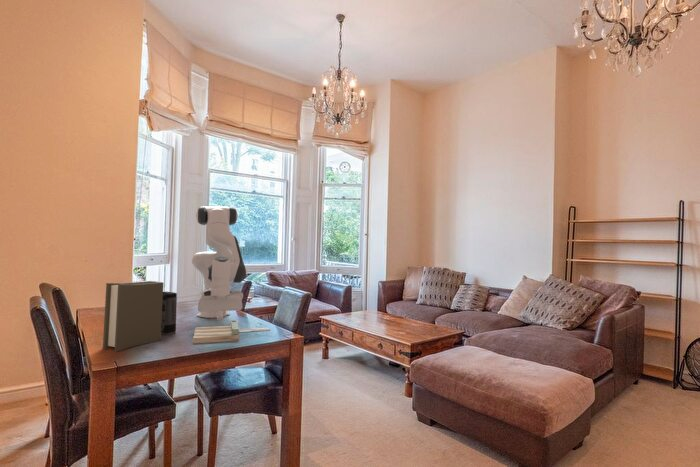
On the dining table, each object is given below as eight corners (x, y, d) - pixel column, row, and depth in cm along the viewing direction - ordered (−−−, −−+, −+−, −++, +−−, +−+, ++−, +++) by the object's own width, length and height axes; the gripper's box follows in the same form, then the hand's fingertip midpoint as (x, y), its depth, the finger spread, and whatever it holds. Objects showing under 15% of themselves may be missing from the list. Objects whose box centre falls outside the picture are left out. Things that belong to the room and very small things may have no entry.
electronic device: (154, 332, 190) (155, 292, 190) (165, 330, 195) (166, 291, 195) (166, 335, 185) (167, 294, 185) (177, 332, 191) (178, 292, 191)
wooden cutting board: (195, 332, 192) (195, 327, 192) (268, 328, 204) (268, 323, 204) (193, 343, 173) (193, 337, 173) (273, 338, 185) (273, 333, 185)
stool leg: (230, 325, 196) (231, 319, 196) (237, 325, 197) (237, 319, 197) (232, 334, 179) (232, 328, 179) (238, 334, 180) (238, 327, 180)
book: (148, 338, 182) (151, 279, 183) (161, 340, 178) (164, 281, 179) (102, 348, 163) (106, 283, 163) (116, 351, 158) (120, 284, 159)
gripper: (242, 289, 188) (242, 317, 188) (198, 290, 181) (197, 319, 181) (243, 291, 182) (243, 320, 182) (197, 292, 176) (197, 322, 175)
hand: (220, 320), depth 182 cm, fingers closed
